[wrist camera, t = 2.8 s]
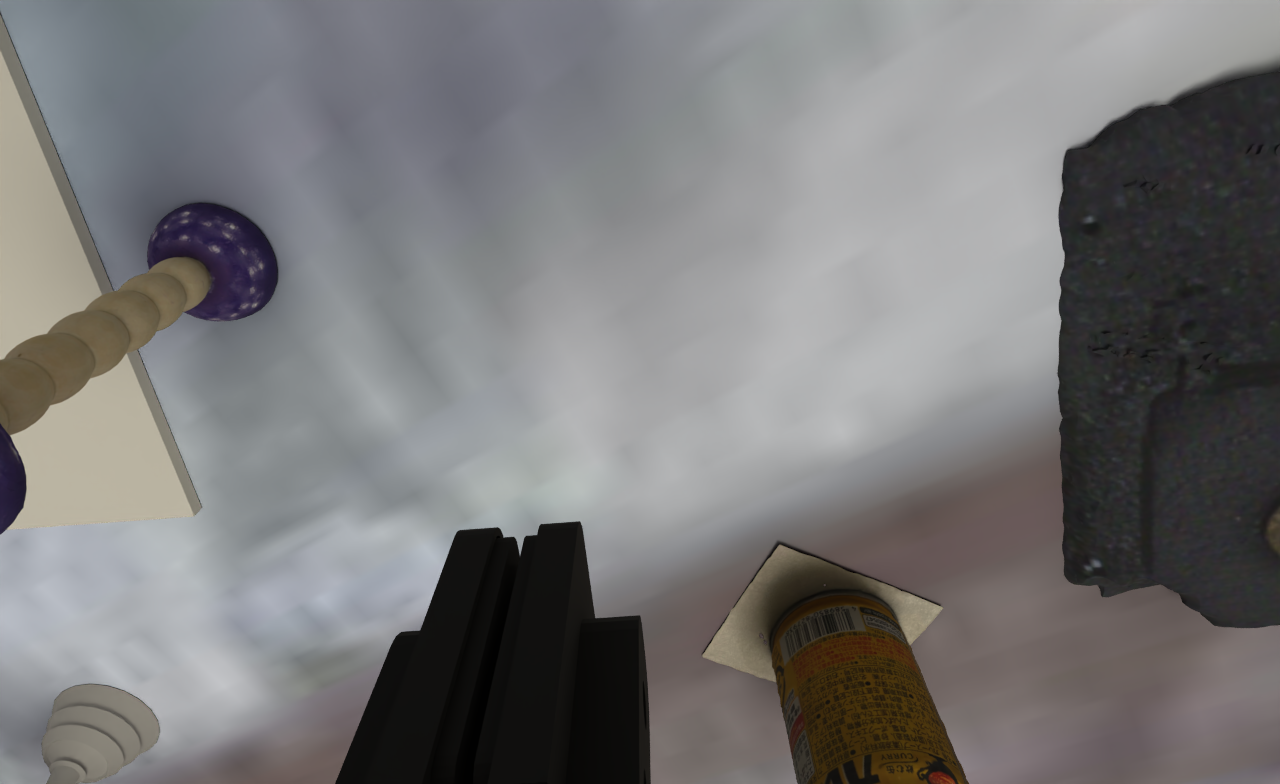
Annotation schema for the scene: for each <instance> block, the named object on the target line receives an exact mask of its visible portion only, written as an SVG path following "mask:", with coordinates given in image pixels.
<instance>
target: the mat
mask: <svg viewBox="0 0 1280 784" xmlns="http://www.w3.org/2000/svg"><path fill="white" fill-rule="evenodd" d="M109 292H113V289H112V287H111V284H110V282H109V279H108V277H107V274H106V272H105V270H104V267H103V265H102V262H101V260H100V257H99V255H98V252H97V250H96V247H95V245H94V243H93V240H92V238H91V235H90V233H89V230H88V228H87V225H86V223H85V221H84V218H83V216H82V213H81V211H80V208H79V206H78V203H77V201H76V199H75V196H74V194H73V191H72V189H71V186H70V184H69V181H68V179H67V177H66V174H65V172H64V169H63V167H62V164H61V162H60V159H59V157H58V154H57V152H56V150H55V147H54V145H53V142H52V140H51V137H50V135H49V132H48V130H47V128H46V125H45V123H44V120H43V118H42V115H41V113H40V110H39V108H38V106H37V103H36V101H35V98H34V96H33V93H32V91H31V88H30V86H29V83H28V81H27V79H26V76H25V74H24V71H23V69H22V66H21V64H20V61H19V59H18V57H17V54H16V52H15V49H14V47H13V44H12V42H11V39H10V37H9V35H8V32H7V30H6V27H5V25H4V22H3V20H2V17H1V15H0V360H2V359H4V358H5V357H6V355H7V354H8V353H9V352H10V351H11V350H12V349H13V348H14V347H16V346H17V345H18V344H20V343H22V342H24V341H25V340H27V339H30V338H32V337H35V336H38V335H43V334H47V333H48V331H49V330H50V329H51V328H52V327H53V326H54V325H55V324H56V323H57V322H58V321H60V320H61V319H63V318H65V317H66V316H68V315H70V314H73V313H76V312H80V311H84V310H85V309H86V307H87V306H88V305H89V304H90V303H91V302H92V301H94V300H95V299H97V298H98V297H100V296H101V295H103V294H106V293H109ZM10 436H11V438H12V441H13V443H14V445H15V447H16V449H17V450H18V452H19V455H20V456H21V459H22V462H23V464H24V467H25V473H26V485H27V491H26V497H25V502H24V508H23V509H22V510H21V512H20V513H19V514H18V516H17V518H16V519H15V521H14V522H13V523H12V524H11V525H10V526H9V527H8V528H7V529H6V530H9V529H24V528H38V527H52V526H66V525H80V524H94V523H108V522H122V521H136V520H150V519H164V518H179V517H193V516H195V515H196V514H197V513H198V512H199V511H200V510H201V508H202V507H201V505H200V502H199V500H198V497H197V495H196V492H195V490H194V487H193V485H192V482H191V480H190V478H189V475H188V473H187V470H186V468H185V465H184V463H183V460H182V458H181V456H180V453H179V451H178V448H177V446H176V443H175V441H174V438H173V436H172V434H171V431H170V429H169V426H168V424H167V421H166V419H165V416H164V414H163V411H162V409H161V407H160V404H159V402H158V399H157V397H156V394H155V392H154V389H153V387H152V385H151V382H150V380H149V377H148V375H147V372H146V370H145V367H144V365H143V363H142V360H141V358H140V355H139V353H138V350H135V351H133V352H130V353H126V354H125V356H124V357H123V359H122V360H121V361H120V362H119V364H118V365H116V366H115V367H114V368H112V369H111V370H110V371H108V372H106V373H104V374H102V375H100V376H97V377H94V378H90V379H89V381H88V382H87V384H86V385H85V386H84V387H83V388H82V389H81V390H80V391H79V392H78V393H76V394H75V395H74V396H72V397H70V398H69V399H67V400H65V401H63V402H61V403H57V404H54V405H50V406H49V408H48V410H47V411H46V413H45V414H44V415H43V416H42V417H41V418H40V419H39V420H38V421H37V422H36V423H34V424H33V425H31V426H30V427H28V428H27V429H25V430H23V431H21V432H18V433H15V434H13V435H10Z"/></svg>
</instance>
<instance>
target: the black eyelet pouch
mask: <svg viewBox="0 0 1280 784" xmlns="http://www.w3.org/2000/svg"><path fill="white" fill-rule="evenodd" d="M1062 179H1063V183H1064V191H1063V193H1062V197H1061V201H1060V205H1059V227H1060V233H1061V237H1062V246H1063V250H1064V252H1065V260H1064V261H1065V262H1064V268H1063V270H1062V273H1061V277H1060V286H1061V296H1060V300H1059V313H1060V316H1061V320H1062V322H1061V329H1060V335H1059V365H1058V377H1059V381H1060V384H1059V390H1058V395H1059V405H1060V412H1061V415H1062V417H1063V419H1062V421H1061V424H1060V427H1059V431H1060V435H1061V452H1060V459H1061V468H1062V493H1063V503H1064V512H1063V524H1064V535H1063V544H1062V550H1063V554H1064V575H1065V577H1066V579H1067V580H1068V581H1069V582H1071V583H1073V584H1076V585H1086V586H1092V585H1098V586H1099V588H1100V591H1101V596H1102V597H1111V596H1114V595H1117V594H1120V593H1123V592H1126V591H1129V590H1133V589H1138V588H1145V587H1149V586H1154V585H1159V584H1161V585H1164V586H1165V587H1167V588H1168V589H1170V590H1173V591H1174V592H1177V593H1179V595H1180V597H1181V599H1182V602H1183V603H1184V604H1185V605H1186V606H1188V607H1189V608H1191V609H1193V610H1195V611H1198V612H1200V613H1201V615H1202V616H1204V617H1205V618H1206V619H1207V620H1208V621H1210V622H1211V623H1212V624H1213V625H1214V626H1220V627H1235V628H1260V627H1266V626H1272V625H1280V72H1276V73H1269V74H1264V75H1258V76H1253V77H1248V78H1243V79H1238V80H1234V81H1230V82H1227V83H1225V84H1222V85H1220V86H1218V87H1215V88H1212V89H1209V90H1207V91H1206V92H1204V93H1196V94H1194V95H1192V96H1190V97H1187V98H1184V99H1182V100H1180V101H1178V102H1177V103H1175V104H1173V105H1172V106H1166V105H1161V106H1156V107H1151V108H1147V109H1142V110H1140V111H1138V112H1136V113H1135V114H1134V115H1132V116H1131V117H1130V118H1128V119H1127V120H1124V121H1121V122H1118V123H1115V124H1114V125H1112V126H1110V127H1109V128H1108V129H1106V130H1105V131H1104V132H1103V133H1102V134H1101V135H1100V136H1099V137H1098V138H1097V139H1096V140H1095V141H1094V143H1093V144H1092V145H1091V146H1090V147H1088V148H1086V149H1077V150H1069V151H1068V153H1067V156H1066V158H1065V163H1064V168H1063V173H1062Z"/></svg>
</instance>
